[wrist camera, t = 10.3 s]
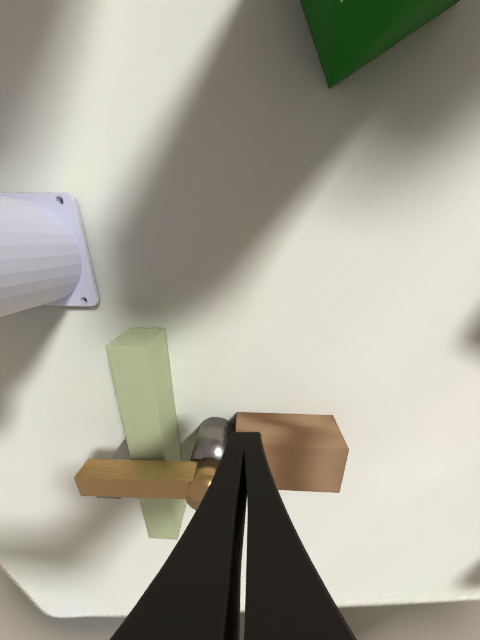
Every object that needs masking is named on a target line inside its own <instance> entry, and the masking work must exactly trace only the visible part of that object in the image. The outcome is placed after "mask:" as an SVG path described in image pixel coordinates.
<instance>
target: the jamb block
mask: <svg viewBox="0 0 480 640" xmlns="http://www.w3.org/2000/svg"><path fill="white" fill-rule="evenodd" d="M236 432H259V433H261V438H262V443H263V448H264V452H265V455H266V458H267V462H268V465H269V468H270V471H271V473H272V476H273V479H274V482H275V484H276V487H277V489H278V490H292V491H313V492H333V493H339V492H340V488H341V483H342V479H343V474H344V470H345V465H346V461H347V456H348V452H349V448H348V446H347V444H346V442H345V440H344V438H343V436H342V434H341V431H340V429H339V427H338V425H337V423H336V421H335V419H334V417H333V415H305V414H276V413H246V412H237V420H236Z"/></svg>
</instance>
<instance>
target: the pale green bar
mask: <svg viewBox="0 0 480 640" xmlns="http://www.w3.org/2000/svg"><path fill="white" fill-rule="evenodd" d="M106 351H107V355H108V359H109V364H110V368H111V373H112V377H113V382H114V386H115V390H116V395H117V399H118V404H119V408H120V413H121V417H122V421H123V426H124V430H125V435H126V439H127V444H128V448H129V452H130V457H131V460H157V461H181V453H180V445H179V437H178V429H177V420H176V412H175V404H174V396H173V388H172V379H171V371H170V363H169V355H168V347H167V338H166V330H165V328H129V329H128V330H127V331H125V332H124V333H122V334H121V335H120V336H118V337H117V338H115V339H114V340H113V341H111V342H110V343H108V344H107V345H106ZM140 501H141V505H142V510H143V514H144V519H145V523H146V528H147V532H148V536H149V538H158V539H174V540H178V536H179V531H180V527H181V523H182V519H183V515H184V511H185V507H186V499H163V498H140Z"/></svg>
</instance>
